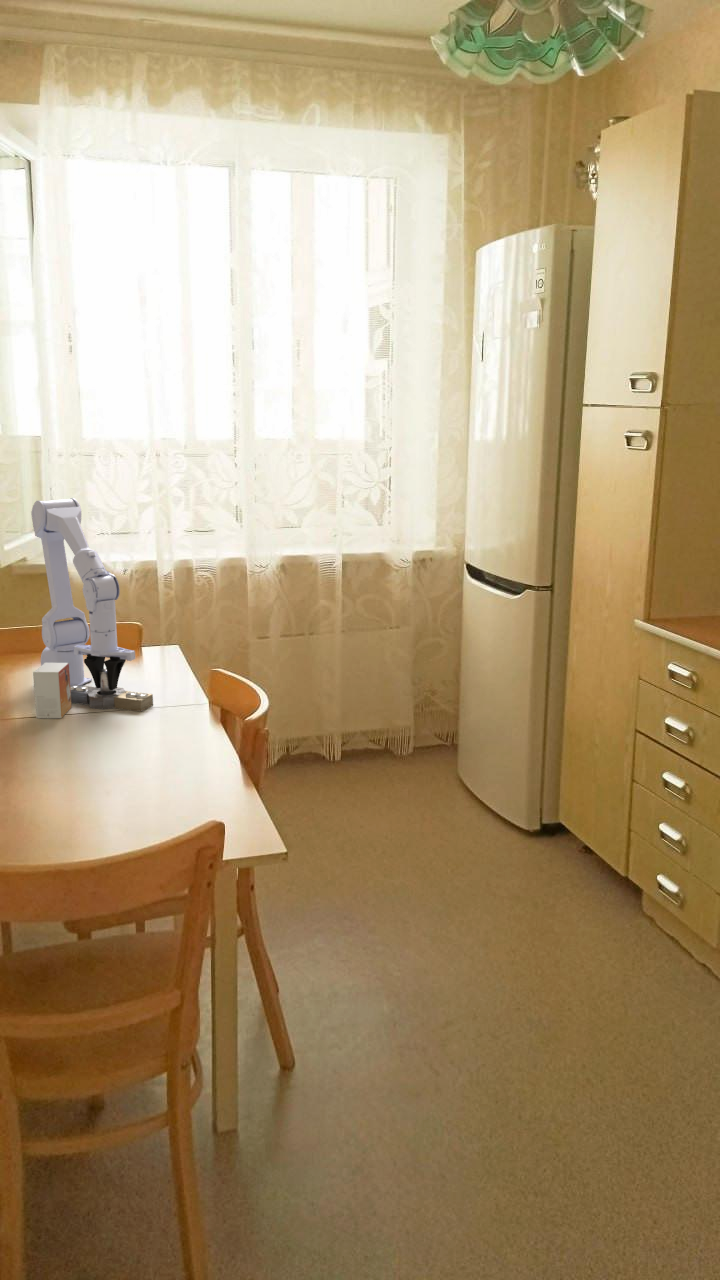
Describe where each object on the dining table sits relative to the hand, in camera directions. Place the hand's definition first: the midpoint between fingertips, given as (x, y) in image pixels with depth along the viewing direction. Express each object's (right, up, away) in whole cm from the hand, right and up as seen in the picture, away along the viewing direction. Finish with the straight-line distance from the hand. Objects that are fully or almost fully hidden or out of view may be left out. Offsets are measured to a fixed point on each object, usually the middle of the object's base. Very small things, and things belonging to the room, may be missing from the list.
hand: (106, 688), depth 229 cm
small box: (-10, -5, -6) cm, 13 cm away
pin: (0, -3, +1) cm, 3 cm away
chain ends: (0, -3, +1) cm, 4 cm away
